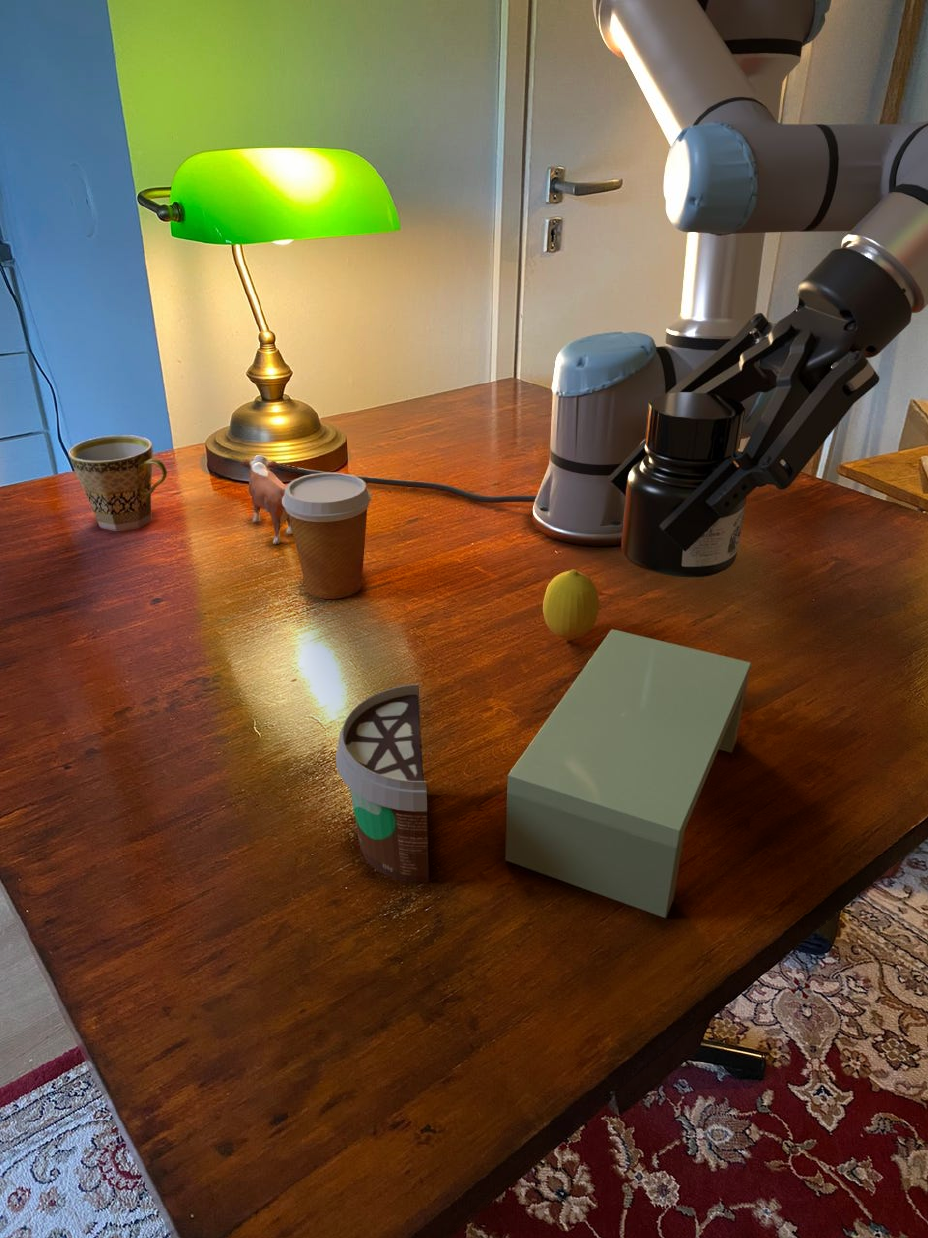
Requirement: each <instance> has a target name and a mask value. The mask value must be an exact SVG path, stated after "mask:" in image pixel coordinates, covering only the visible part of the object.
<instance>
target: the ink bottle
mask: <svg viewBox="0 0 928 1238" xmlns="http://www.w3.org/2000/svg"><path fill="white" fill-rule="evenodd" d="M745 410H746V409H745V408H744V406H743V404H742V403H739V402H737V401H735V400H733V399H731V398H727V397H723V396H719V395H715V394H706V393H698V392H697V393H690V392H679V393H670V394H663V395H661V396H657V397H654V398H653V399H652V400H651V401H649V405H648V415H647V425H646V435H645V441H646V444H645V452H646V454H647V456H645V457H644V459H643V460H641V461H640V462H638V463H637V464H636V465H635V466H634V467H633V468H632V469H631V471H630V473H629V475H628V479H627V488H626V499H625V510H624V520H623V531H622V542H621V544H620V545H621V546H620V547H621V552H622V554H623V556H624V557H625V558H626V560H627V561H629V562H630V563H631V564H633V565H635V566H637V567H639V568H641V569H642V570H646V571H649V572H652V573H654V574H655V573H656V574H660V575H664V576H669V577H675V578H687V579H690V578H691V579H697V578H706V577H712V576H715V575H717V574H720V573H722V572H724V571H726V570H728V569H729V568H730V567H731V566H732V565H733V564H734V563H735V561H736V559H737V556H738V552H739V551H738V550H739V546H740V545H739V544H740V538H741V532H742V527H743V521H744V515H745V508H746V502H747V496H746V497H745V498H744V499H743V500H742V501H741V502H740V503H739V504H738V505H737V506H736V507H734V509H733V510H732V511H731V512H730V513H729V514H728V515H726V516H724V517H723V518H720V519H719V520H717V521H716V522H715V523H714V524H713V525H712V526H711V527H710V528H709V529H708V530H707V531H706V532H705V533H704V534H703V535H702V536H701V537H700V538H699V539H698V540H697V541H696V542H695V543H694V544H693V545H692V546H691V547H690V548H689V549H688V550H687V551H686V552H685V551H684V550H683V549H682V548H680V547H679V546H678V545H677V544H676V543H675V542H674V541H673V540H672V539H671V538H670V537H669V536H668V535H667V534H666V533H665V532H664V531H663V530H662V529H661V528H660V527H659V525H660V524H661V523H662V522H663V521H664V520H666V519H667V518H668V517H669V516H670V515H671V514H672V513H673V512H674V511H675V510H676V509H677V508H678V507H679V506H680V505H681V504H682V503H683V502H684V501H685V500H686V499H687V498H688V497H689V496H690V495H691V494H692V493H693V492H694V491H695V490H696V489H697V488H698V487H699V486H700V485H701V484H702V483H703V482H704V481H705V480H706V479H707V478H708V477H709V476H710V475H711V474H712V473H713V472H714V471H715V470H716V469H717V468H718V467H719V466H720V465H721V464H722V463H723V462H724V461H725V460H726V459H729V460H730V461H732V462H733V463H734V464H735V465H736V467H737V468H738V466H737V463H736V462H735V461H734V459H733V458H732V456H731V455H732V452H734V453H735V452H739V449H740V448H741V442H742V439H741V436H742V429H743V423H744V417H745Z"/></svg>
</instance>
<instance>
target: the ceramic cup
mask: <svg viewBox="0 0 928 1238" xmlns="http://www.w3.org/2000/svg"><path fill="white" fill-rule="evenodd" d="M153 447H154V446H153V442H152V441H151V440H150V439H149V438H146V437H145V436H144V437H143V436H139V435H131V434H113V435H104V436H98V437H94V438H90V439H87V440H83V441H81V442H78V443H76V444H75V445H73V446H72V447H70V449H69V450H68V452H67V454H68V457H69V460H70V462H71V465H72V468H73V470H74V471H75V474H76V477H77V479H78V481H79V483H80V485H81V486H82V489H83V490H84V492H85V494H86V497H87V500H88V502H89V504H90V507H91V509H92V512H93V514H94V517H95V519H96V521H97V523H98V526H99V527H100V528H101V529H104V530H108V531H113V532H122V531H129V530H135V529H140V528H141V527H143V526H146V525H147V524H149V523H150V522H152V493H154V491H155V490H156V488H157V487H158V486H159V485H161V484H162V483H163V482H165V480H166V478H167V476H168V471H167V468H166V466H165V464H164V462H162V461H161V459H158V458H154V448H153ZM154 466H157V467H158V468H159V469H160V470H161V474H162V475H161V478H160V479H159V480H158V481H156V482H155V483H153V485H152V480H153V479H152V478H153V467H154Z"/></svg>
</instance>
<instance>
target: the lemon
mask: <svg viewBox="0 0 928 1238" xmlns="http://www.w3.org/2000/svg"><path fill="white" fill-rule="evenodd" d="M599 609H600V603H599V595H598V590H597V587H596V585H595V583H594V582H593V580H592V579H591V578H590V577H588V575H586V574H585V573H582V572H579V571H578V570H577V569H570V570H566V571H564V572H561V573H559V574H558V575H555V576H554V578H552V579H551V580H550V581H549V583H548V585H547V588H546V590H545V594H544V596H543V602H542V613H543V617H544V621H545V624H546V626H547V627H548V629H549V630H550V631H551V632H552V633H553V634H554V635H555V636H557V637H558V638H559V637H560V638H562V639H564V640H565V641H567V642H572V641H573V640H575V639H578V638H579V639H580V638H581V637H583V636H585V635H586V634H588V633H589V632H590V631H591V630H592V629H593V628H594V626H595V623H596V621H597V619H598V615H599Z"/></svg>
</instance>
